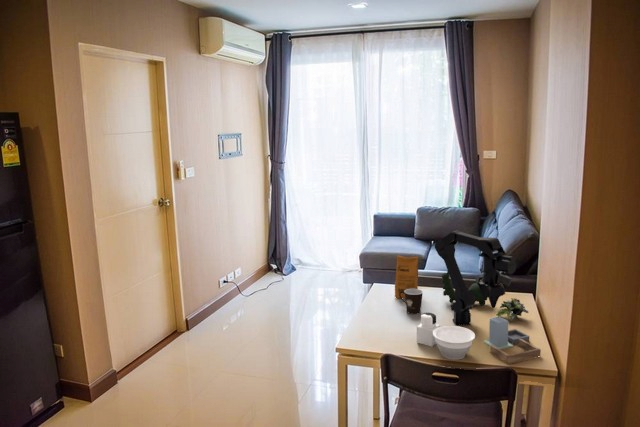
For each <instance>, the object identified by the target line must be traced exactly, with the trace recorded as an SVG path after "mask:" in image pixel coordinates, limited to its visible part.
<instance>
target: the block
mask: <svg viewBox="0 0 640 427" xmlns="http://www.w3.org/2000/svg"><path fill="white" fill-rule="evenodd" d="M508 330H509V319H508V320H507V319H505V318H504V317H501V316H499V317H498V316H496V317H492V318H491V317H490V318H489V332H488V333H489V334H488V336H489V337H488V340H489V342H490V343H492V344H493V345H495V346H497V347H499V346H504V345H508V343H509V342H508Z"/></svg>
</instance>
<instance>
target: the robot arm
mask: <svg viewBox="0 0 640 427" xmlns="http://www.w3.org/2000/svg"><path fill="white" fill-rule="evenodd" d="M458 243H462V244H465V245H468V246H472V247H474V248H477V250H479V251H480V253H479V254H478V257H481V258H483V259H482V260H483V261H482V264H483V265H482V269H481V270H480V271H481V273H482V274H478V275H476V276H475V283H477V285H478V287H479V289H480V291H481V294H482V296H483V298H484V300H485V301H487V300H488V301H489V303H490V306H491V308H492V309H495V308H496V305H497V304H498V300H499V298H500V297H501V296H504V295H506V288H504V287H503V286H502V285H501V284H503V285H506V286H508V287H510V284H511V283H512V280H513V278H512V277H510V276H508V275H506V274H509V275H512V274H514V273H515V272H516V270H517V263H516V260H514V256H509V255H507V253H506V251H505V249H504V248H503V246H502V244H501V241H500V239H498V238H497V237H481V236H476V235H473V234H470V233H465V232H463V231H460V230H455V231H451V232H449V233H448V234H447V235H446V236H444V237H443V238H441V239H439V240H436V241H435V244H434V248H435V251H436V253H437V255H438V256H439V257H440V258H441V259H442V260H443V261H444V264H445V266H446V270H447V271H448V272H449V278H450V281H451V284H452V287H453V289H454V290H455V295H454V298H455V301H453V302H452V303H451V304H450V310H451V312H453V318H452V321H453V323H454V324H455V326H471V325H472V323H471V322H472V319H471V318H472V317H471V316H472V314H471V312H470V310H472V309H473V307H474V306H475V304H476V301H475V298H476V297H475V296H474V293H473V290H472V289H470V290H469V288H468V287H467V286H466V283H465V280H464V277H463V276H462V273H461V270H460V267H459V265H458V262H457V260H456V257H455V254H456V247H455V245H457V244H458Z"/></svg>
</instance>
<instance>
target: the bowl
mask: <svg viewBox="0 0 640 427" xmlns="http://www.w3.org/2000/svg"><path fill="white" fill-rule="evenodd" d="M433 336H434V337H435V340H436V344H435V345H436V346H437V348H438V349H439V351H440V352H441V355H442V356H443V358H446V359H448V360H454V361H455V360H457V361H458V360H461V359H464V358H465V356H466V355H467V354H468V352H469V351H470V350H471V348H472V344H473V341H474V340H475V338H476V334H475V332H474V331H473V330H471V329H469V328H468V327H467V328H466V327H464V326H463V327H462V326H460V325H458V326H457V325H443V326H442V325H441V326H440V327H438V328H436V329H435V330H434V331H433Z"/></svg>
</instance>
